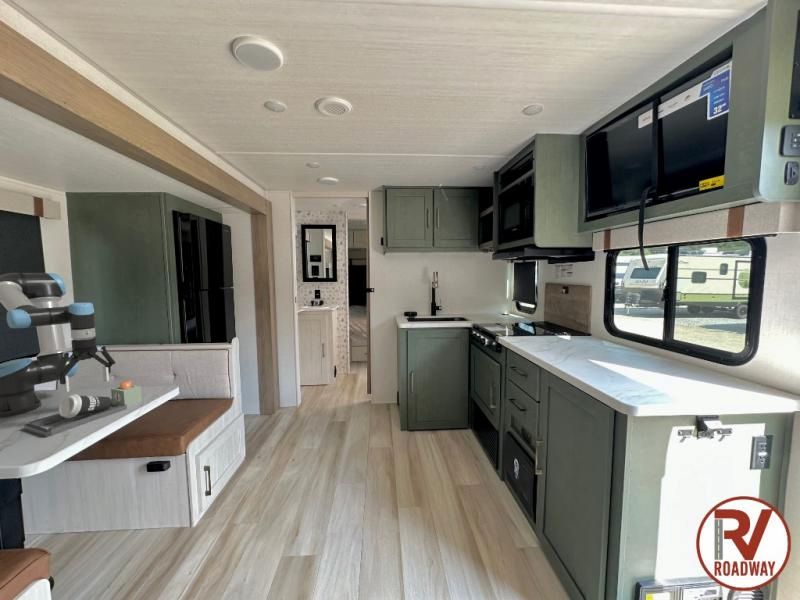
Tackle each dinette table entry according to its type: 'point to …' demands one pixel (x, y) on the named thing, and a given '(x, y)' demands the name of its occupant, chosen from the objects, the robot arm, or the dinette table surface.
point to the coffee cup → (83, 405)
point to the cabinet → (126, 395)
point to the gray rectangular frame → (35, 425)
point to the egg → (125, 385)
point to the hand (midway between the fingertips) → (87, 385)
